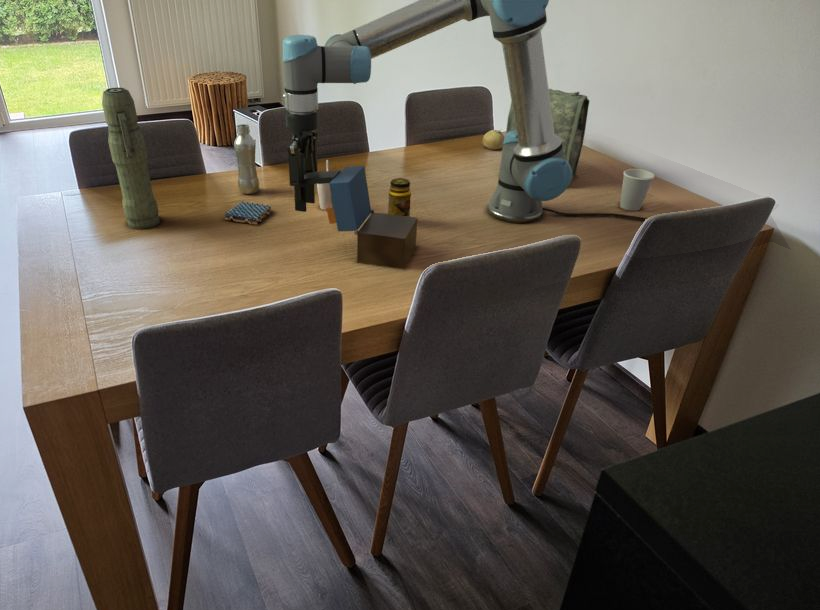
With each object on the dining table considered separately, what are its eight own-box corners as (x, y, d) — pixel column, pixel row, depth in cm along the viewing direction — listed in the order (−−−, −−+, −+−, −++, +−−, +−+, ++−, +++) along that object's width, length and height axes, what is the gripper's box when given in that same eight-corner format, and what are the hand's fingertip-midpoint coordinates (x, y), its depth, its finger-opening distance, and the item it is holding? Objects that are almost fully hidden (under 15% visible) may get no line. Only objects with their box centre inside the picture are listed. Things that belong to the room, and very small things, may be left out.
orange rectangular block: (361, 200, 151) (331, 202, 154) (356, 206, 148) (326, 208, 151) (364, 216, 153) (334, 217, 156) (359, 222, 150) (329, 223, 153)
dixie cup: (649, 206, 180) (659, 173, 174) (638, 214, 175) (648, 180, 170) (622, 199, 185) (630, 166, 179) (610, 207, 180) (618, 173, 174)
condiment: (407, 229, 167) (409, 186, 160) (377, 225, 169) (378, 183, 162) (413, 218, 173) (415, 177, 166) (384, 215, 175) (385, 174, 168)
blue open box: (364, 164, 150) (312, 168, 155) (348, 180, 141) (293, 184, 145) (371, 212, 156) (321, 214, 161) (357, 230, 147) (304, 232, 152)
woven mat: (223, 220, 172) (222, 213, 171) (241, 207, 180) (240, 200, 179) (256, 226, 169) (255, 219, 168) (273, 211, 177) (272, 205, 176)
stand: (416, 245, 159) (418, 214, 154) (402, 270, 148) (404, 237, 143) (370, 239, 162) (371, 208, 157) (353, 262, 151) (353, 230, 146)
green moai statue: (154, 212, 177) (128, 82, 157) (165, 226, 168) (139, 92, 148) (122, 218, 173) (92, 86, 153) (132, 233, 165) (101, 96, 145)
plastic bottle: (234, 194, 188) (226, 127, 177) (245, 187, 193) (239, 122, 182) (253, 197, 186) (246, 130, 175) (263, 190, 191) (258, 124, 180)
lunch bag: (578, 174, 203) (597, 86, 187) (563, 189, 191) (582, 97, 176) (513, 162, 212) (526, 78, 196) (496, 176, 201) (508, 88, 185)
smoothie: (334, 212, 177) (333, 164, 169) (313, 210, 178) (311, 163, 170) (339, 204, 182) (339, 157, 174) (318, 202, 183) (317, 155, 175)
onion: (481, 151, 223) (484, 131, 219) (481, 144, 230) (484, 125, 225) (504, 152, 222) (506, 132, 218) (503, 145, 228) (506, 126, 224)
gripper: (301, 100, 149) (304, 192, 162) (270, 119, 135) (276, 218, 148) (330, 103, 147) (331, 195, 161) (302, 122, 133) (305, 222, 147)
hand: (305, 206), depth 154 cm, fingers closed on blue open box, 5 cm apart
